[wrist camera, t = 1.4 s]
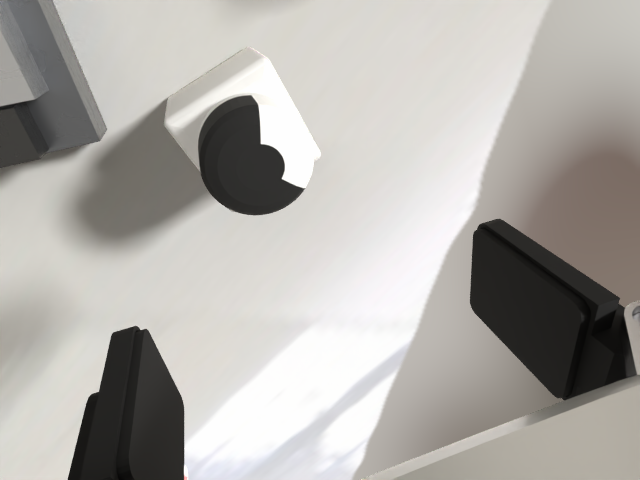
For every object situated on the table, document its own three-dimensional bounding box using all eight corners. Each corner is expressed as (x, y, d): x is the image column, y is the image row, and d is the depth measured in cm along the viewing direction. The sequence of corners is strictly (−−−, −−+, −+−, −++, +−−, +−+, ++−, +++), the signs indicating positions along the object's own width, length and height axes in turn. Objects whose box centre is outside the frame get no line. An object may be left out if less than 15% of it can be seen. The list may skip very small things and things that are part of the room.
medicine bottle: (223, 177, 33) (241, 252, 23) (165, 98, 29) (155, 148, 19) (298, 129, 33) (349, 184, 23) (250, 44, 29) (284, 65, 19)
